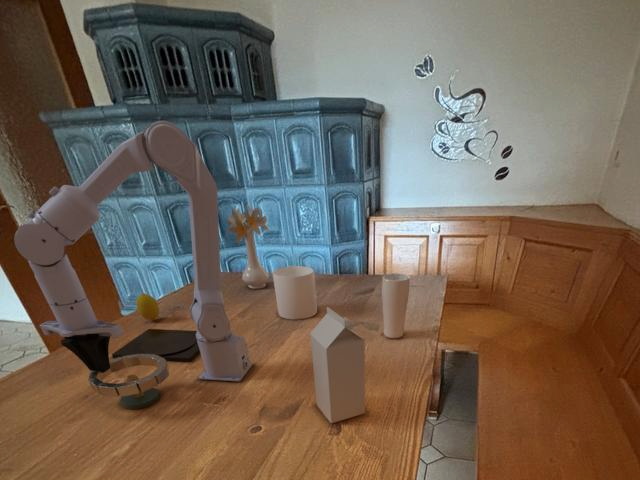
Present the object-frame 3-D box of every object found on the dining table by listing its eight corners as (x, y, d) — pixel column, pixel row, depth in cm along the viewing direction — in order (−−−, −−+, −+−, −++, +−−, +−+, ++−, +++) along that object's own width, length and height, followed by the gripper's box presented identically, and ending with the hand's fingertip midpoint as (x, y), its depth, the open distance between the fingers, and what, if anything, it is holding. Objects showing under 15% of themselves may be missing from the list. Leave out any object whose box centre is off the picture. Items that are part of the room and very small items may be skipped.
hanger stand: (166, 391, 80) (157, 367, 77) (147, 410, 75) (136, 385, 71) (135, 390, 81) (125, 366, 78) (114, 408, 75) (102, 383, 72)
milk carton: (331, 424, 70) (324, 324, 59) (316, 405, 75) (307, 310, 64) (365, 414, 73) (365, 316, 61) (348, 396, 78) (345, 303, 66)
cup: (324, 310, 118) (321, 269, 111) (300, 322, 110) (295, 279, 103) (295, 303, 123) (291, 264, 116) (270, 314, 115) (263, 273, 108)
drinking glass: (377, 338, 101) (378, 279, 92) (385, 328, 106) (387, 271, 97) (401, 341, 99) (405, 282, 90) (409, 332, 104) (413, 274, 95)
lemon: (155, 325, 110) (145, 297, 105) (138, 323, 111) (127, 295, 106) (166, 318, 114) (157, 290, 109) (150, 316, 115) (140, 289, 110)
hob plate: (218, 335, 104) (217, 330, 103) (190, 362, 91) (188, 357, 90) (150, 332, 106) (148, 327, 105) (113, 358, 93) (110, 353, 92)
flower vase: (238, 296, 130) (221, 212, 115) (241, 280, 144) (226, 204, 129) (277, 293, 132) (265, 210, 117) (276, 278, 146) (265, 202, 131)
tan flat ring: (181, 364, 79) (178, 355, 78) (144, 399, 69) (140, 389, 68) (121, 360, 81) (118, 352, 80) (76, 393, 70) (71, 384, 69)
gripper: (11, 306, 64) (51, 378, 72) (90, 309, 62) (122, 382, 71) (44, 293, 70) (78, 361, 78) (117, 295, 68) (144, 364, 76)
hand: (101, 370), depth 75 cm, fingers closed on tan flat ring, 1 cm apart
